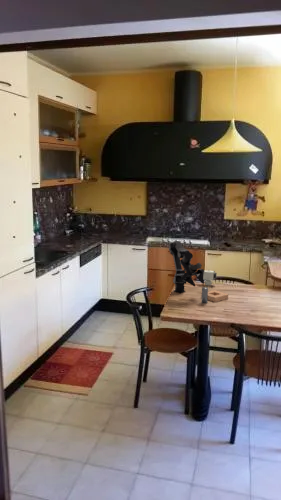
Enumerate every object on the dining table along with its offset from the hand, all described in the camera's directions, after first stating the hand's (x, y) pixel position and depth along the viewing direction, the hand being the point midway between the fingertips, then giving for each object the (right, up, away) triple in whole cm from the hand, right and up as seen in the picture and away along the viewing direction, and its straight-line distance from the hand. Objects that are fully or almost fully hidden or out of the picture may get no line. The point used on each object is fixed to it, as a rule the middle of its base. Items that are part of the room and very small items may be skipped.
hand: (199, 284), depth 270 cm
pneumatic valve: (+13, -4, +42) cm, 44 cm away
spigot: (+3, -12, -1) cm, 12 cm away
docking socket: (+12, -10, +9) cm, 18 cm away
